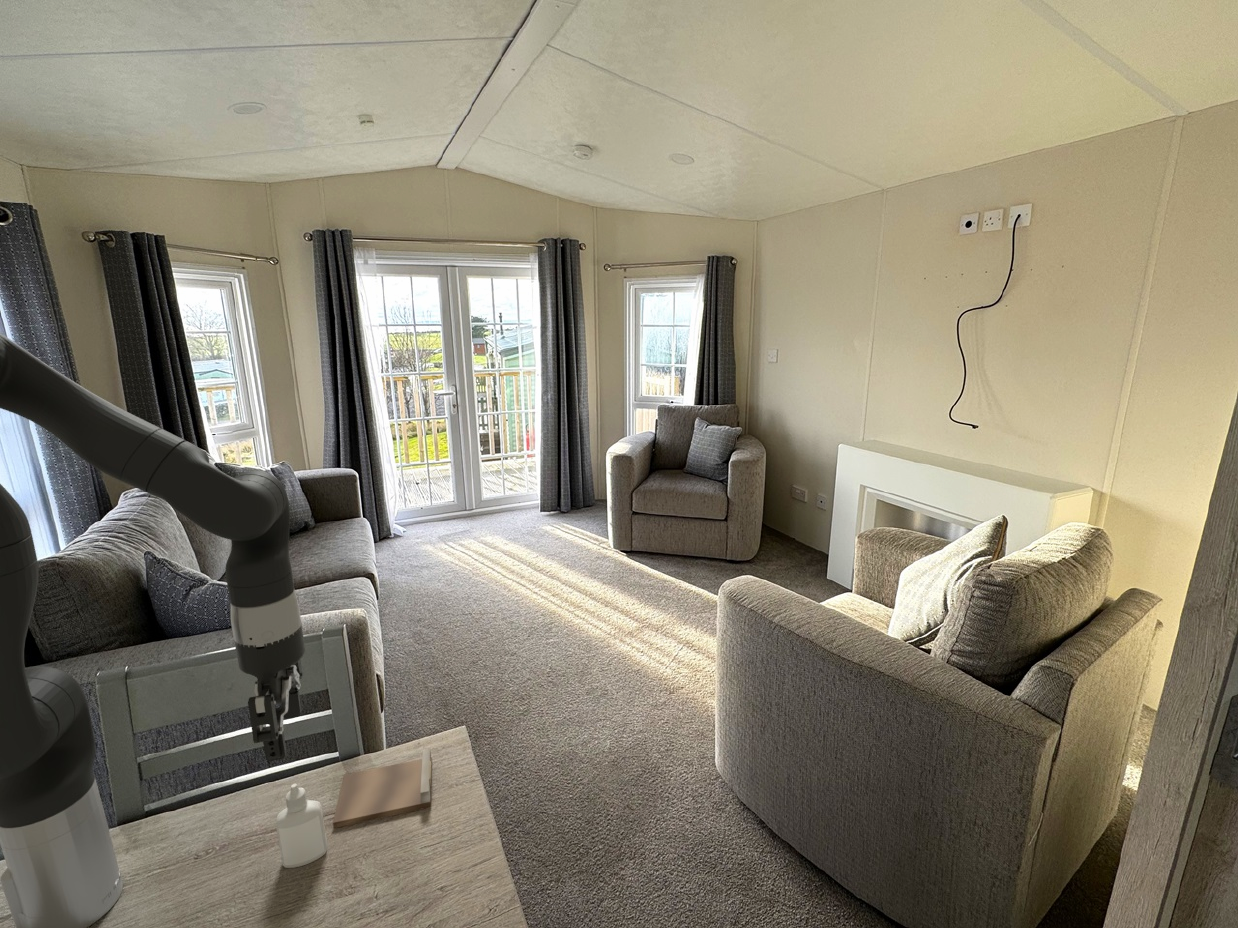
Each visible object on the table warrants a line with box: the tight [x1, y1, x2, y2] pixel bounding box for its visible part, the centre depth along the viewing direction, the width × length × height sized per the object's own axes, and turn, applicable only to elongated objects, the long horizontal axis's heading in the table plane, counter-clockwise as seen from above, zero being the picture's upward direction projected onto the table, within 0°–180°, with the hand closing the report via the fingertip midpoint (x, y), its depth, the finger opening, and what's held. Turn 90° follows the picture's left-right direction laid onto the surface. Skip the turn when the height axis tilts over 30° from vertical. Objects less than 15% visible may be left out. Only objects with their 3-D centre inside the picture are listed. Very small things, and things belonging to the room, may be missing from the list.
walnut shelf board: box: [332, 747, 433, 829], centre depth 95 cm, size 14×10×3 cm
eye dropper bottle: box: [275, 783, 328, 869], centre depth 83 cm, size 4×6×12 cm
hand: (285, 736), depth 79 cm, fingers open, 8 cm apart
